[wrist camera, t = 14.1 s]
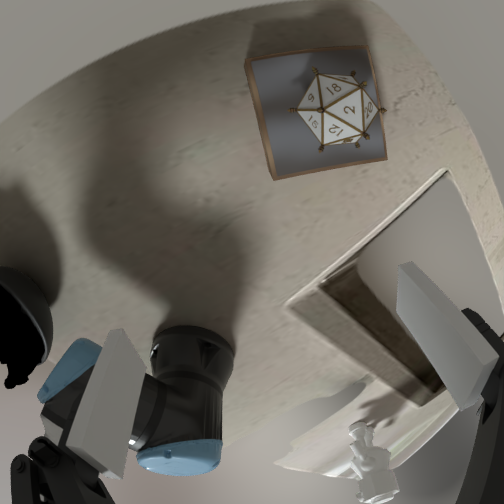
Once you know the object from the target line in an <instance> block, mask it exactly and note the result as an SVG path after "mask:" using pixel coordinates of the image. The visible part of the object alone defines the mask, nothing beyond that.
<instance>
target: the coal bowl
mask: <svg viewBox="0 0 504 504" xmlns="http://www.w3.org/2000/svg"><path fill="white" fill-rule="evenodd" d="M52 340H53V321H52V316H51V312H50V308H49V306H48V303H47V301H46V299H45V297H44V295H43V293H42V292H41V290H40V289H39V287H38V286H37V285H36V284H35V283H34V282H33V281H32V280H31V279H30V278H29V277H28V276H26V275H25V274H23V273H22V272H20V271H18V270H16V269H13V268H10V267H5V266H0V362H1V364H7V367H8V376H7V378H6V379H5V383H4V384H5V387H6V388H7V389H12V388H14V387H15V386H16V385H22V384H24V383H26V382H27V381H28V380H29V379H28V375H30V374H31V373H32V371H33V370H34V368H35V367H36V366H37V365H40V364H42V363H44V362H45V361H46V359H47V358H48V355H49V353H50V350H51V346H52Z"/></svg>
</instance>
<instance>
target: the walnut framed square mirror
mask: <svg viewBox="0 0 504 504" xmlns="http://www.w3.org/2000/svg"><path fill="white" fill-rule="evenodd" d="M312 66H313V67H315V68H317V70H318V73H321V74H337V75H349V76H350V75H351V74H350V73H351V71H353V70H355V72H356V74H355V76H354V78H355V79H356V80H357V81H358V82H359V83H360V84H361V83H362V82H363V81H367V86H366V87H365V88H364V89H365V91H366V92H367V93H368V95H369V96H370V97H371V99H372V100H373V102H374V103H375V104H376V106H377V107H378V108H379V109H380V108H381V106H380V100H379V94H378V88H377V83H376V78H375V73H374V68H373V64H372V59H371V55H370V51H369V47H368V45H366V46H340V47H325V48H314V49H305V50H296V51H289V52H282V53H275V54H269V55H263V56H258V57H253V58H248V59H245V63H244V68H245V72H246V76H247V80H248V84H249V88H250V92H251V96H252V100H253V104H254V109H255V113H256V117H257V121H258V125H259V130H260V134H261V138H262V143H263V147H264V151H265V156H266V160H267V165H268V169H269V172H270V174H271V176H272V179H273V181H275V180H280V179H285V178H290V177H294V176H299V175H304V174H309V173H315V172H320V171H325V170H331V169H336V168H342V167H347V166H353V165H359V164H365V163H371V162H378V161H384V160H388V159H387V150H386V141H385V133H384V125H383V118H382V113H381V112H378V114H377V115H376V117H375V119H374V120H373V122H372V123H371V125H370V127H369V128H368V130H367V131H366V133H368V135H370V140H368V139H367V140H366V139H365V138H364V137H363V136H362V137H361V139H360V140H359V141H358V143H359V144H360V149H358V148H356V146H355V143H349V144H338V145H328V146H324V150H323V152H321V153H319V150H318V148H319V146H321V144H320V142H319V141H318V140H317V138H316V137H315V135H314V134H313V133H312V131H311V130H310V129H309V127H308V126H307V125H306V123H305V122H304V121H303V120H302V118H301V117H300V116H299V114H298V113H297V112H294V113H291V112H289V111H287V110H288V109H290V108H297V106H298V104H299V103H300V101H301V99H302V97H303V96H304V94H305V92H306V91H307V89H308V87H309V85H310V84H311V82H312V80H313V79H314V77H315V75H316V74H315V73H313V71H312Z"/></svg>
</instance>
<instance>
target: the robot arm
mask: <svg viewBox="0 0 504 504" xmlns="http://www.w3.org/2000/svg"><path fill="white" fill-rule="evenodd" d="M396 312H397V314H398V315H399V316H400V318H401V319H402V321H403V322H404V323H405V325H406V326H407V328H408V329H409V330H410V332H411V334H412V335H413V336H414V338H415V339H416V341H417V342H418V344H419V345H420V347H421V348H422V350H423V351H424V353H425V354H426V356H427V357H428V359H429V360H430V362H431V364H432V365H433V367H434V368H435V370H436V371H437V373H438V374H439V376H440V378H441V379H442V381H443V382H444V384H445V386H446V387H447V389H448V391H449V392H450V394H451V395H452V397H453V399H454V400H455V402H456V404H457V406H458V407H459V409H460V411H463V410H465V409H466V408H468V407H470V406H472V405H473V404H475V403H476V402H477V400H478V398H479V396H480V395H482V397H483V398H484V401H483V403H482V404H481V406H480V408H479V409H478V411H477V414H476V415H479V414H480V412H481V415H480V420H479V425H478V430H477V435H476V439H475V444H474V447H473V451H472V455H471V459H470V462H469V466H468V469H467V472H466V476H465V479H464V482H463V485H462V488H461V491H460V493H459V496H458V499H457V501H456V504H504V342H503V341H502V340H501V339H500V337H499V336H498V335H497V334H496V333H495V332H494V331H493V330H492V329H491V328H490V326H489V325H488V324H487V323H485V321H484V320H483V318H482V317H481V316H480V315H479V314H478V313H476V312H474V311H472V310H471V309H469V308H466V309H464V310H461V311H460V310H459V309H458V308H457V306H456V305H455V304H454V303H453V302H452V301H451V300H450V299H449V298H448V297H447V296H446V295H445V294H444V293H443V292H442V291H441V290H440V289H439V288H438V286H437V285H436V284H435V283H433V281H432V280H431V279H430V278H428V276H427V275H426V274H425V273H424V272H423V271H422V270H420V269H419V268H418V267H417V266H416V265H415V264H414V263H413V262H408V263H405V264H402V265H399V266H398V291H397V308H396ZM150 361H151V368H152V374H153V376H151V375H149V374H147V373H145V372H146V368H147V367H146V365H145V364H144V362H143V361H142V359H141V358H140V356H139V354H138V353H137V351H136V350H135V348H134V346H133V345H132V343H131V341H130V340H129V338H128V336H127V335H126V333H125V331H124V329H116V330H110V332H109V334H108V336H107V339H106V341H105V343H104V345H103V347H101V346H99V345H98V344H96V343H94V342H93V341H91V340H89V339H86V338H80V339H77V340H76V341H74V342H73V344H72V345H71V346H70V347H69V349H68V350H67V351H66V352H65V354H64V355H63V357H62V358H61V359H60V361H59V362H58V363H57V365H56V366H55V368H54V369H53V371H52V372H51V374H50V375H49V377H48V378H47V380H46V382H45V383H44V385H43V386H42V388H41V389H40V391H39V392H38V394H37V397H38V399H39V400H40V402H41V403H42V404H43V403H45V405H44V407H43V410H42V412H41V414H40V416H41V419H42V422H43V425H44V427H45V434H44V436H40V437H38V438H36V439H35V440H33V441H32V443H31V445H30V446H29V450H28V456H29V457H30V458H31V459H33V460H31V459H30V458H29V457H27V456H26V455H24V454H20V455H18V456H16V457H15V458H14V459H13V461H12V463H11V495H12V504H115V502H114V501H113V499H112V497H111V496H110V494H109V492H108V491H107V489H106V487H105V485H104V484H103V482H102V481H101V479H100V478H99V475H100V473H102V474H103V475H104V476H106V477H107V478H114V479H123V474H124V468H125V463H126V457H127V452H128V448H129V449H132V450H134V451H136V452H138V453H137V455H136V458H137V461H138V463H139V465H140V466H142V467H143V468H145V469H147V470H149V471H152V472H156V473H160V474H166V475H174V476H191V475H199V474H204V473H207V472H210V471H212V470H213V469H215V468H216V467H217V466H218V465H219V463H220V459H221V449H222V446H223V441H222V398H223V391H224V389H225V387H226V384H227V382H228V380H229V378H230V376H231V374H232V371H233V352H232V349H231V347H230V345H229V344H228V343H227V342H226V341H225V340H224V339H223V338H222V337H221V336H219V335H218V334H216V333H214V332H212V331H210V330H207V329H204V328H200V327H195V326H177V327H173V328H169V329H167V330H165V331H163V332H161V333H160V334H159V335H158V336H157V337H156V338H155V340H154V342H153V345H152V349H151V353H150Z"/></svg>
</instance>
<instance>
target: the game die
mask: <svg viewBox="0 0 504 504" xmlns="http://www.w3.org/2000/svg"><path fill="white" fill-rule="evenodd" d="M312 71H313V73H315V74H316V75H315V77H314V79H313V80H312V82H311V84H310V85H309V87H308V89H307V91H306V92H305V94H304V96H303V97H302V99H301V101H300V103H299V104H298V106H297V108H290V109H288V110H287V111H289V112H291V113H294V112H297V113H298V114H299V116H300V117H301V118H302V120H303V121H304V122H305V123H306V125H307V126H308V127H309V129H310V130H311V131H312V133H313V134H314V135H315V137H316V138H317V140H318V141H319V142H320V144H321V146H319V148H318V150H319V153H321V152H323V150H324V146H328V145H338V144H349V143H355V146H356V148H358V149H360V144H359V143H358V141H359V140H360V139H361V137H362V136H363V137H364V138H365V139H366V140H367V139H368V140H370V135H368V133H366V131H367V130H368V128H369V127H370V125H371V123H372V122H373V120H374V119H375V117H376V115H377V114H378V112H381V113H384V112H386V111H387V110H386V109H384V108H380V109H379V108H378V107H377V106H376V104H375V103H374V102H373V100H372V99H371V97H370V96H369V95H368V93H367V92H366V91H365V89H364V88H365V87H366V86H367V81H363V82H362V83H361V84H360V83H359V82H358V81H357V80H356V79H355V78H354V76H355V74H356V72H355V70H353V71H351V73H350V74H351V75H350V76H349V75H337V74H321V73H318V70H317V68H315V67H313V66H312Z"/></svg>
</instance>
